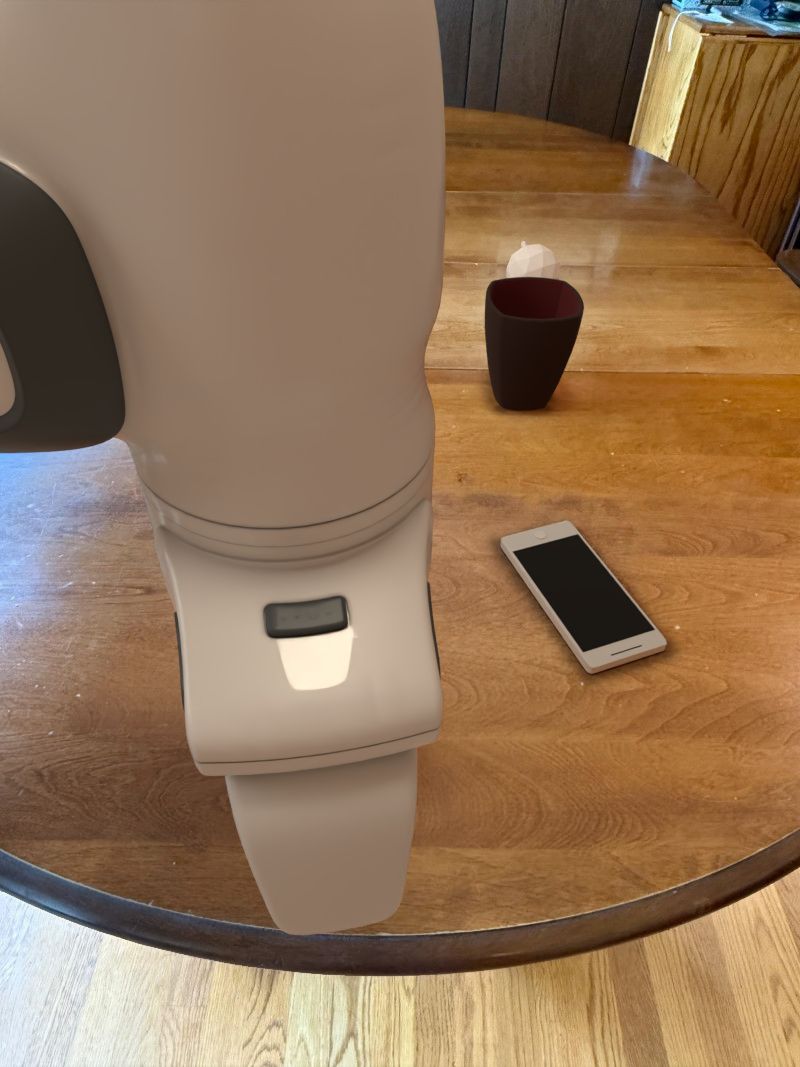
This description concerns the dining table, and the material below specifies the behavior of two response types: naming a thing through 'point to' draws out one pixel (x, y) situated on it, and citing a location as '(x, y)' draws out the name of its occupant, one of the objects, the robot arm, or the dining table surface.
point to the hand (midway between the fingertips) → (320, 741)
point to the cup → (529, 338)
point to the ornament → (533, 262)
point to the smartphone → (582, 597)
